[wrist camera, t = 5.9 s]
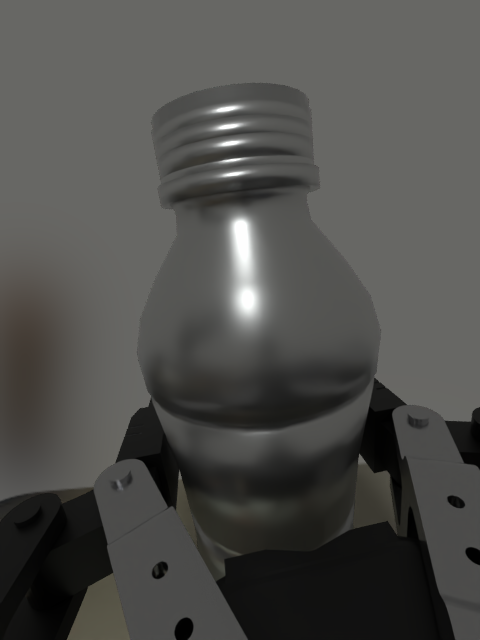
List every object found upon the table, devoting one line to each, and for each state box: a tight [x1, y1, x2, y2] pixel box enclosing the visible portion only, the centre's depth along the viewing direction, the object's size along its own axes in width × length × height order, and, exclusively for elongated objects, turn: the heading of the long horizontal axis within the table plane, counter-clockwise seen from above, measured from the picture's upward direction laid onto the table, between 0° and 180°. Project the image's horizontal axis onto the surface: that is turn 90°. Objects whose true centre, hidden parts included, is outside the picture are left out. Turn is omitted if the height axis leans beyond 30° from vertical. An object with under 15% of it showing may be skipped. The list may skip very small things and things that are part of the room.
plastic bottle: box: [137, 83, 381, 582], centre depth 10 cm, size 6×7×20 cm
